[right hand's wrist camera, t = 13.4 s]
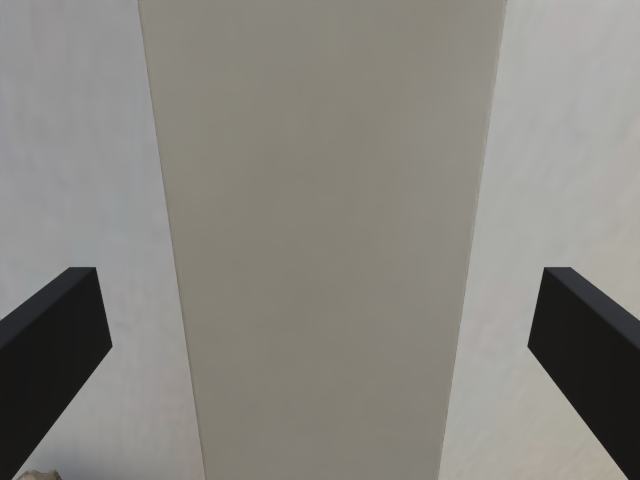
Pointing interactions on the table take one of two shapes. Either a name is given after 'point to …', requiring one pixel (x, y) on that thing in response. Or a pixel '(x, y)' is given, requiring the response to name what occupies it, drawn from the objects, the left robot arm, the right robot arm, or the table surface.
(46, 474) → the stone
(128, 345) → the table surface
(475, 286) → the table surface
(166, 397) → the table surface
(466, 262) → the bar
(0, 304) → the table surface
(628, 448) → the right robot arm
